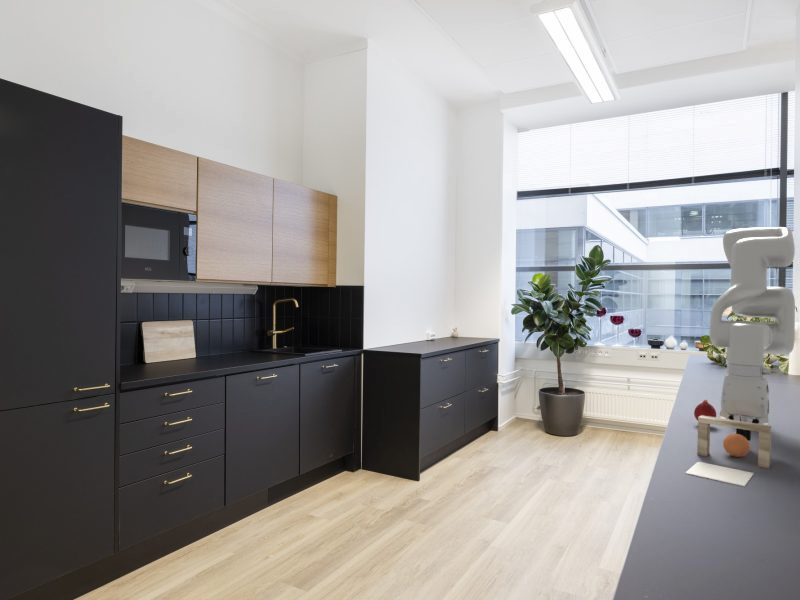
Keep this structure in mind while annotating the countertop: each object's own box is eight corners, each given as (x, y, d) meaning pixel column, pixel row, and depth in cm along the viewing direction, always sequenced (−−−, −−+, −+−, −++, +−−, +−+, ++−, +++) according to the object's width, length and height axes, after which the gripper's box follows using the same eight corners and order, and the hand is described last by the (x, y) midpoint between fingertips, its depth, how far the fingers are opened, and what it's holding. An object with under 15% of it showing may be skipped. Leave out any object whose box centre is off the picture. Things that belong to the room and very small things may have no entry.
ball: (720, 450, 129) (723, 456, 132) (746, 455, 125) (749, 462, 129) (723, 428, 131) (726, 435, 134) (749, 432, 127) (752, 440, 131)
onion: (719, 429, 157) (719, 402, 157) (697, 427, 158) (698, 400, 158) (711, 424, 162) (712, 398, 162) (691, 423, 163) (691, 397, 163)
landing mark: (697, 462, 124) (697, 461, 124) (753, 473, 117) (753, 473, 117) (685, 473, 116) (685, 472, 116) (744, 486, 109) (744, 485, 109)
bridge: (700, 451, 133) (701, 415, 133) (770, 465, 123) (771, 425, 123) (697, 454, 131) (698, 417, 130) (768, 468, 121) (769, 428, 121)
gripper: (783, 373, 134) (780, 445, 134) (715, 366, 144) (713, 434, 144) (779, 376, 128) (776, 452, 129) (709, 369, 138) (706, 439, 139)
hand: (743, 442), depth 136 cm, fingers closed
